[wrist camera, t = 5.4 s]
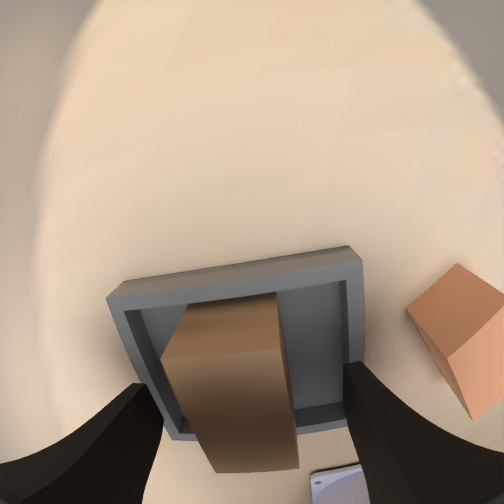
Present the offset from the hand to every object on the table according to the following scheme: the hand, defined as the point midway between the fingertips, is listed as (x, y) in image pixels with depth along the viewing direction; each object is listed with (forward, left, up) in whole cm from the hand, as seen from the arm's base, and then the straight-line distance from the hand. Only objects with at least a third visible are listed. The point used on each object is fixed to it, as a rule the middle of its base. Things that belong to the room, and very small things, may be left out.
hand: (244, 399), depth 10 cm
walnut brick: (0, 0, -2) cm, 2 cm away
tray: (0, 0, -3) cm, 3 cm away
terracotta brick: (-1, -10, -3) cm, 11 cm away
